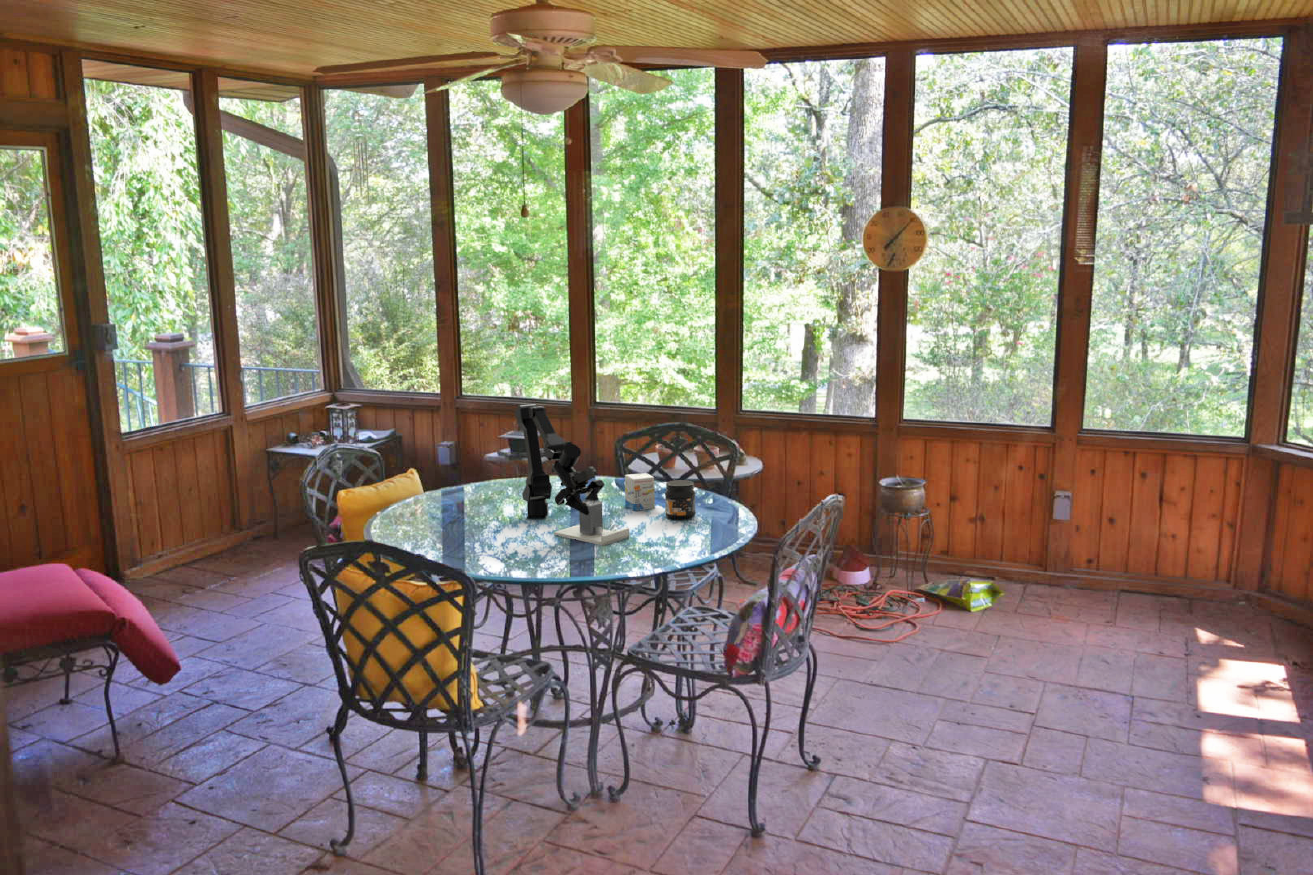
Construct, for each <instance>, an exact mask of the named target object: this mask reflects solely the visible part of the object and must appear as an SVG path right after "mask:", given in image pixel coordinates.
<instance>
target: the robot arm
mask: <svg viewBox="0 0 1313 875" xmlns="http://www.w3.org/2000/svg"><path fill="white" fill-rule="evenodd" d="M514 417H515V419H516V422H517V425H518V427H520V429H521V430H522V432H523V439H524V445H525V451H526V452H525V453H526V458H527V459H526V460H527V465H528V471H529V472H528V474H527V477H526V480H525V487H524V488H523V491H522V500H523V501H525V502H526V503H527V516H526V519H546V518H547V517H548V515H549V503H548V502H547V500H550V499H551V497H552V490H553V486H552V483H551V479H550V474H549V473H546V472H545V471H544V468H543V461H542V455H541V454H542V453H541V447H540V440H539V435H540V437H541V438H542V441H543V442H544V446H543V452H544V453H543V454H544V456H545V458H546V459H547V460H548V461H555V462H554V463H552V464H551V469H550V471H551V473H552V474H554V473H556V475H557V477H558V478H559V479H560V481H561V483H560V486H561V487H565V488H561V489H560V490H559V491H558V493H556V495H555V496H554V502H555V504H556V505H557V506H558V507H559V506H562V505H564V506H567V507H570V508H572V509H574V510H576V511H578V512H579V511H580V512H581V513H583V514H585V515H588V514H589V513H588V511H587V509H586V507H585V505H584V504H583V502H582V501H583V500H582V499H581V495H583V494H584V495H585V498H584V501H586V500H589V499H593V500H598V501H600V500H599V497H598V496H599V495H598V494H599V492H600V491H601V490H602V489H603V488H604V487H605V485H606V484H605V483H604V481H603V480H602V479H595V478H596V476H597V474H598V471H597V470H596V468H595V467H594V466H589V467H587V468H585V470H581V471H580V470H577V471H576V469H575V466H576V464H577V463H578V460H579V458H580V456H581V454H582V450H581V448H580V447H579V446H577V444H574V443H572V441H566V440H565V439H564V438H563V437H561V436H559V435H558V434H557V432H556V429H555V428H554V427H553V424H552V423H551V420H550V418H549V416H548V414H547V410H546V408H545V406H542V405H539V406H538V405H537V404H536V403H532V404H531V403H530V404H520V405H517V407H516V408H515V410H514ZM593 479H594V480H593ZM590 480H591V481H590ZM589 481H590V483H589Z"/></svg>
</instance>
